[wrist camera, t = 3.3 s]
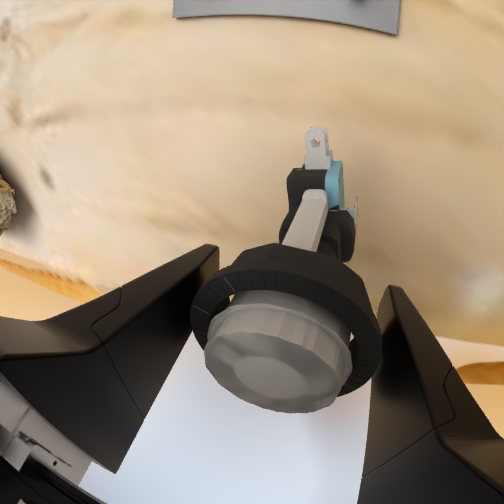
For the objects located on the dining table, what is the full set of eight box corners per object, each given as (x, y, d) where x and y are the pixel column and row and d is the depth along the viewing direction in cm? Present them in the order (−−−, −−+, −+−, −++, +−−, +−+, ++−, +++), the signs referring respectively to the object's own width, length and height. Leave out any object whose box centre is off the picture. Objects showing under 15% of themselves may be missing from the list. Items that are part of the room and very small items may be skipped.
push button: (264, 127, 14) (122, 236, 6) (379, 124, 12) (406, 247, 4) (282, 247, 17) (204, 405, 10) (378, 252, 15) (363, 435, 8)
